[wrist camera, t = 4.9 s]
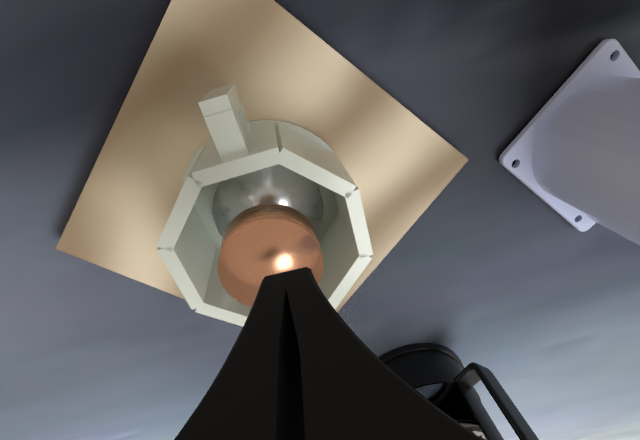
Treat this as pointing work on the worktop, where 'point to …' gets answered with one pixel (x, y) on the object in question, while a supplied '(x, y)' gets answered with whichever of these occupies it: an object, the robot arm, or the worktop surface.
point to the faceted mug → (241, 158)
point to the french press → (457, 388)
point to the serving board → (258, 103)
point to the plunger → (266, 228)
